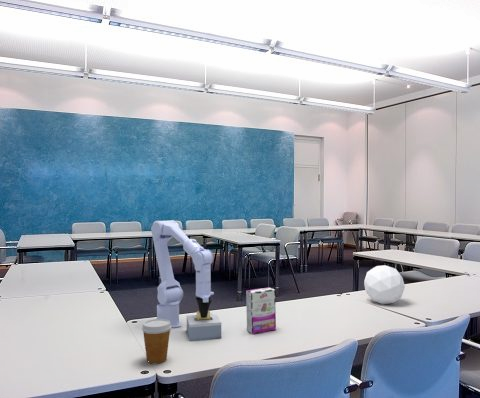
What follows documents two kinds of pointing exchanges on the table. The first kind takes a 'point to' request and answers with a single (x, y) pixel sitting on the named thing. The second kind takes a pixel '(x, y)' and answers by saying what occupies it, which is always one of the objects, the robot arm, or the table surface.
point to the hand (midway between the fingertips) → (203, 316)
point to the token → (203, 318)
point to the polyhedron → (384, 284)
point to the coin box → (203, 328)
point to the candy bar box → (260, 310)
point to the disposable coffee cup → (156, 339)
